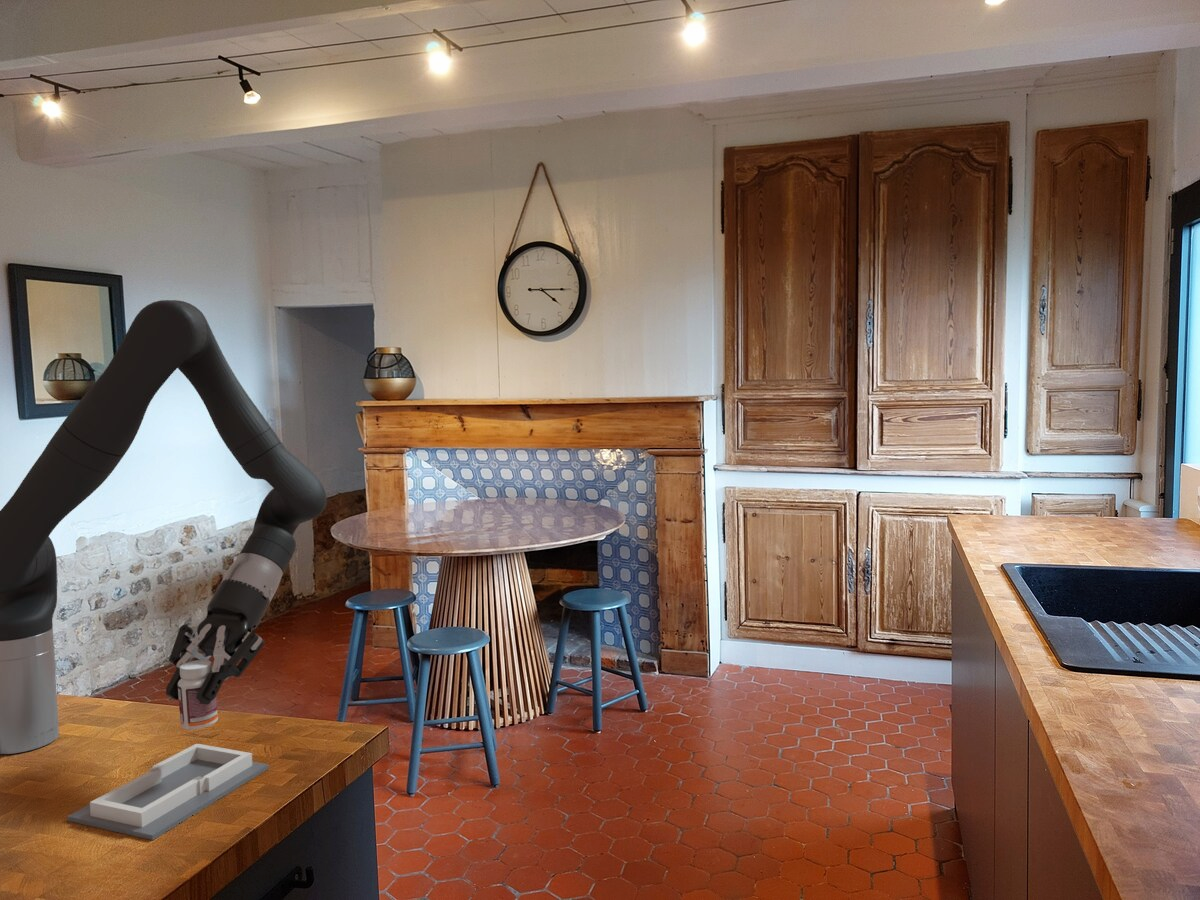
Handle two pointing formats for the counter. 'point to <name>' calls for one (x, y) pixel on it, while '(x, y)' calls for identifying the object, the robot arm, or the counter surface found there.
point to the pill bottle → (188, 688)
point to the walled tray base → (170, 791)
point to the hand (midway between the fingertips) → (187, 699)
